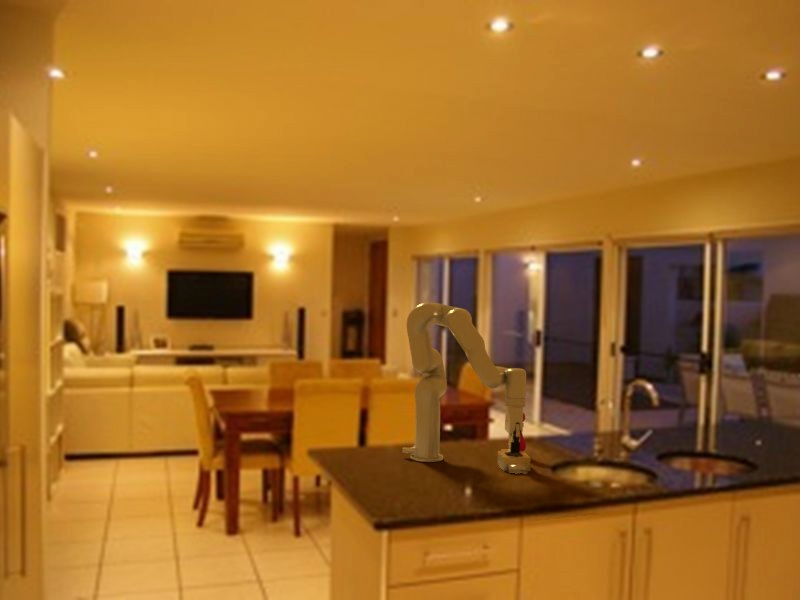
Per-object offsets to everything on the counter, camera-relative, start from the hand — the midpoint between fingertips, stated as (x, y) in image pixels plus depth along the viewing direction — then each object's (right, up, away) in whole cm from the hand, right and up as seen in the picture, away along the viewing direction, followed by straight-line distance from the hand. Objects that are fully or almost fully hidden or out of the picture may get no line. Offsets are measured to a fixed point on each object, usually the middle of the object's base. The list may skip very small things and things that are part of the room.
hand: (513, 451), depth 254 cm
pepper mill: (+4, -6, +18) cm, 19 cm away
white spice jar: (0, -3, 0) cm, 3 cm away
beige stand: (0, -6, 0) cm, 6 cm away
